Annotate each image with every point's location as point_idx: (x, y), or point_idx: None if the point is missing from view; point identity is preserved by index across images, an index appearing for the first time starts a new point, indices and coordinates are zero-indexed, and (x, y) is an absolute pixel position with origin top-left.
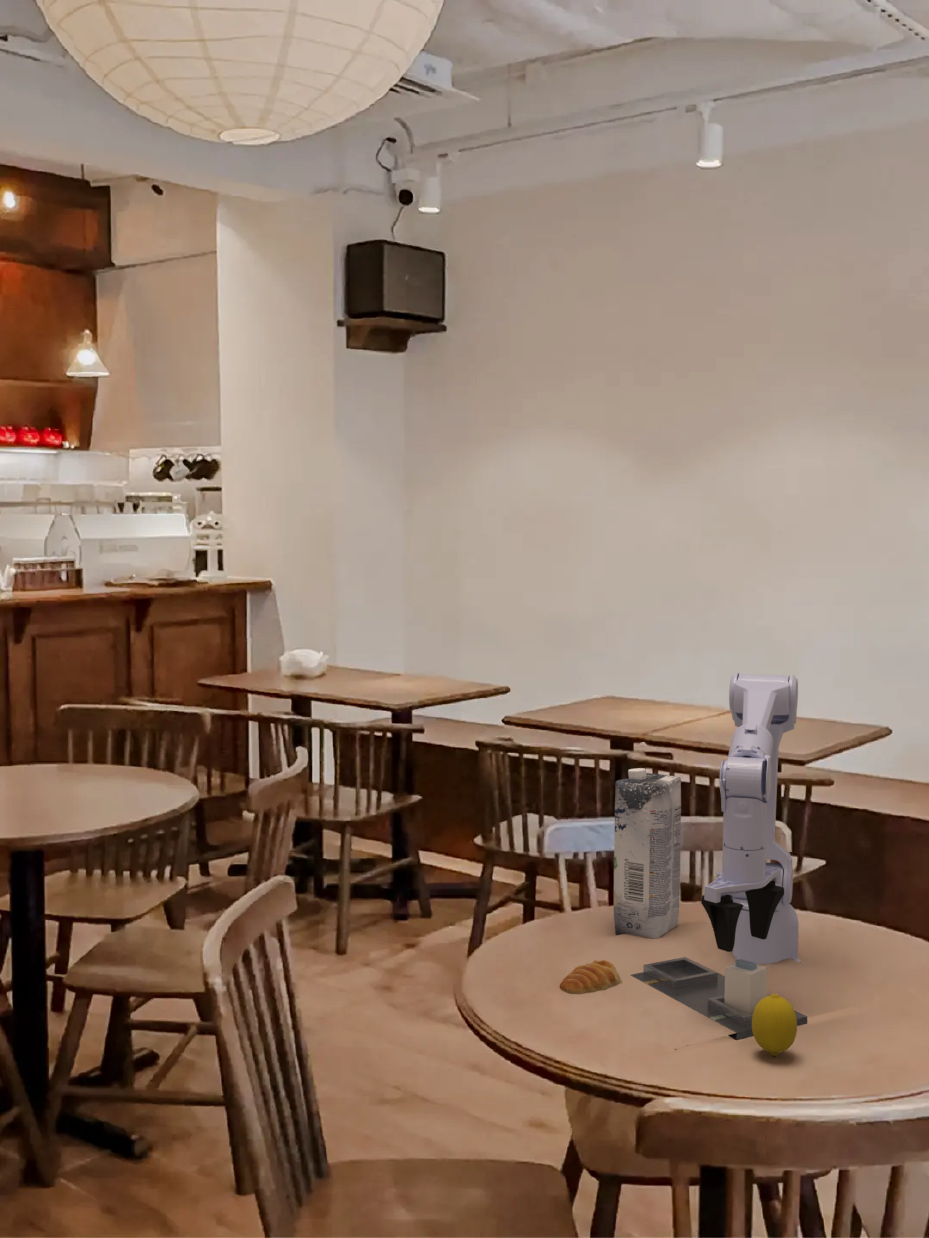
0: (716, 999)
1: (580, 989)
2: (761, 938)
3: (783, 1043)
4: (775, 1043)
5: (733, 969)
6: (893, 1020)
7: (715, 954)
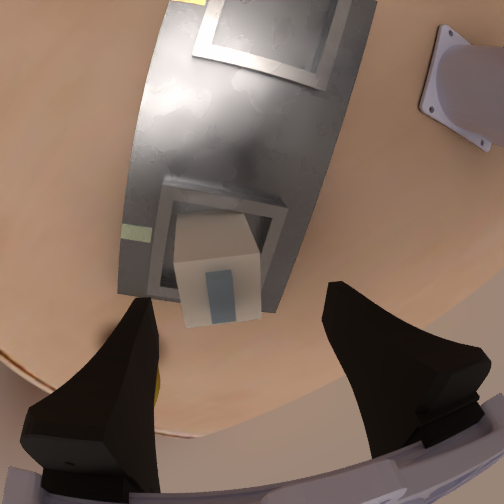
0: (175, 199)
1: None
2: (322, 315)
3: None
4: None
5: (179, 285)
6: None
7: (447, 9)
